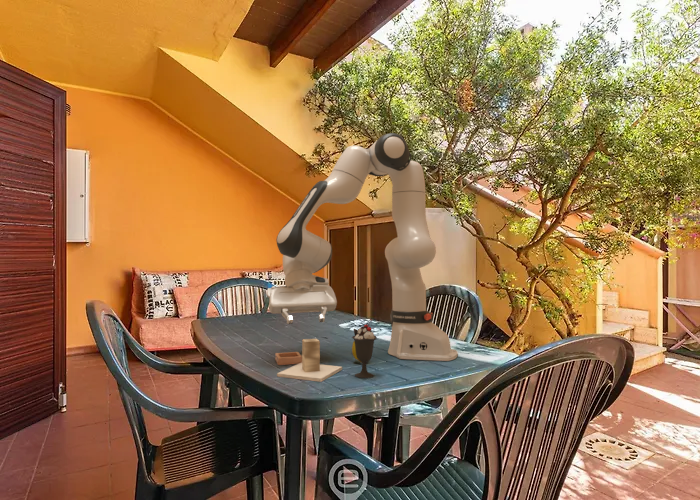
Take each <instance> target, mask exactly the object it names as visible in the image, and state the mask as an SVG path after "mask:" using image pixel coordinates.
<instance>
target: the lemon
mask: <svg viewBox="0 0 700 500" xmlns="http://www.w3.org/2000/svg"><path fill="white" fill-rule="evenodd" d="M351 354H352V357H353V358H354V359H355V360H357V361H358V363H360V364H362V362H361V361H360V360H359V359H358V358H357V355H356V349H355V342H354V341H353V342H352V345H351Z"/></svg>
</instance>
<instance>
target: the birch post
mask: <svg viewBox="0 0 700 500" xmlns="http://www.w3.org/2000/svg"><path fill="white" fill-rule="evenodd" d="M301 341H302V342H301V343H302V346H301V350H302V351H301V356H302V369H303V370H304V372H316V371H320V363H321V361H320V360H321V359H320V358H321V356H320V355H321V353H320V350H321V341H320V340H319V339H317V338H304V339H302V340H301Z"/></svg>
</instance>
